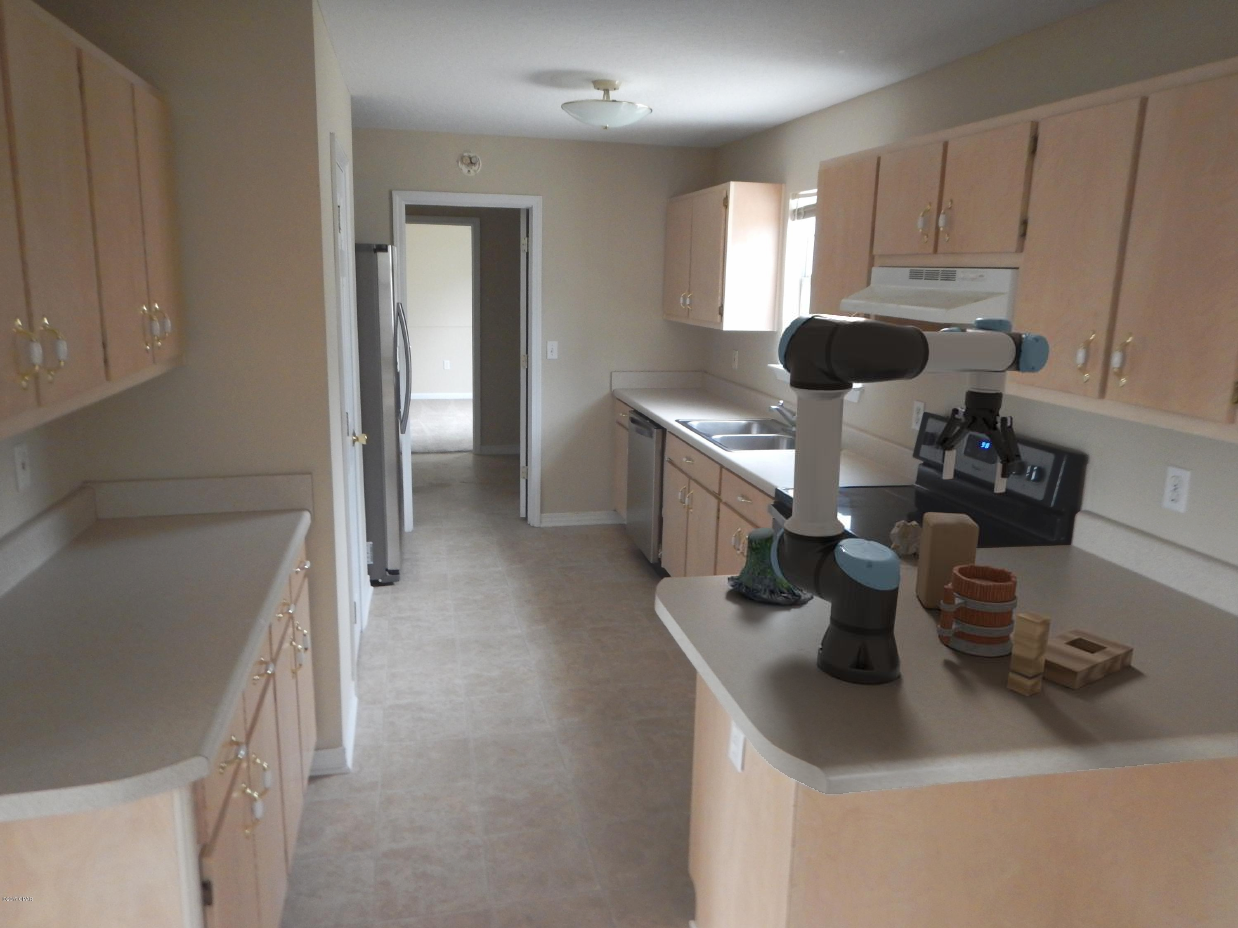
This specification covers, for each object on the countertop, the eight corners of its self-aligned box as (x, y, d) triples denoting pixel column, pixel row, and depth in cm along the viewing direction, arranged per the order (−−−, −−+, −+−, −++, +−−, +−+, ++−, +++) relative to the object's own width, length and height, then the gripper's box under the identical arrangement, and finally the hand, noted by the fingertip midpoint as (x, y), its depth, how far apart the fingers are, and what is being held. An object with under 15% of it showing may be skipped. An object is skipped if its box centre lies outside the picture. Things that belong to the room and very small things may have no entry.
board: (1074, 689, 161) (1077, 671, 160) (1018, 666, 170) (1020, 649, 169) (1130, 664, 172) (1133, 648, 171) (1075, 644, 181) (1077, 628, 180)
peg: (1027, 696, 158) (1038, 622, 155) (1006, 687, 161) (1016, 614, 158) (1040, 690, 160) (1051, 617, 157) (1019, 681, 163) (1029, 610, 160)
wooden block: (958, 596, 206) (968, 513, 202) (970, 612, 197) (981, 525, 192) (913, 593, 207) (922, 510, 203) (923, 609, 198) (933, 522, 193)
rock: (931, 571, 232) (943, 538, 235) (915, 550, 225) (926, 516, 228) (899, 566, 238) (910, 534, 242) (882, 545, 231) (894, 512, 235)
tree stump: (833, 603, 201) (825, 532, 195) (757, 633, 195) (746, 561, 188) (788, 573, 217) (780, 506, 211) (717, 600, 211) (706, 533, 205)
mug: (1028, 648, 178) (1037, 577, 175) (969, 670, 168) (978, 595, 164) (967, 624, 190) (975, 557, 186) (908, 643, 179) (916, 572, 176)
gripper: (1047, 397, 184) (1033, 496, 189) (948, 382, 205) (938, 471, 210) (1025, 398, 181) (1011, 499, 185) (926, 383, 201) (916, 474, 206)
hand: (972, 485), depth 197 cm, fingers open, 13 cm apart
